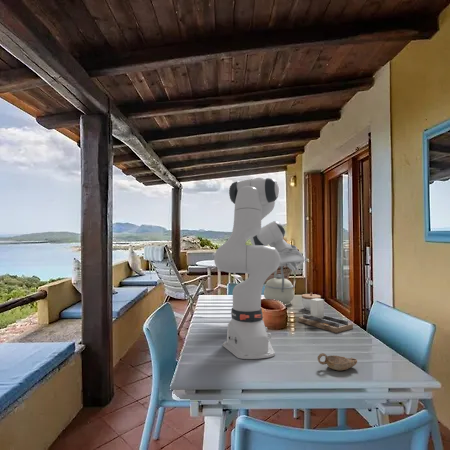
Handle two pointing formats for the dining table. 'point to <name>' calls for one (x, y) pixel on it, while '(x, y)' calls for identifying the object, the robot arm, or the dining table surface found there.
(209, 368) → the dining table surface
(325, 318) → the switch housing
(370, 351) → the dining table surface
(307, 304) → the lidded jar
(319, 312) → the switch knob
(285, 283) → the kettle
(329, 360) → the oil lamp
